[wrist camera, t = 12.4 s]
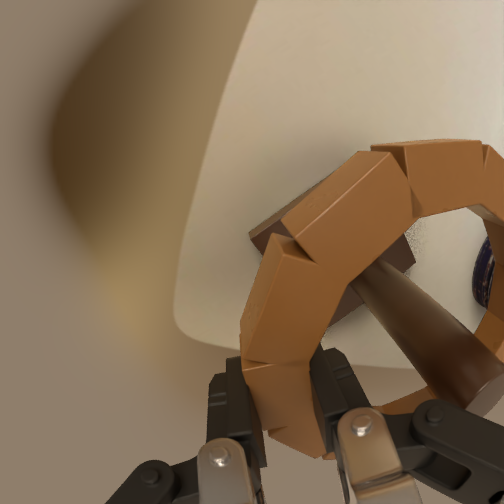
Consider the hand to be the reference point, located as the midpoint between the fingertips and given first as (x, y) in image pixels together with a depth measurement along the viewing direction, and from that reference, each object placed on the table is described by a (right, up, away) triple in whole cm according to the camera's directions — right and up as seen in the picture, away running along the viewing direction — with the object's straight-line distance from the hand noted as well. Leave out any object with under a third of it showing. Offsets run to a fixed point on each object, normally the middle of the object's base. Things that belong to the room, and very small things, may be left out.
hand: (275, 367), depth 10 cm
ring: (+6, +2, 0) cm, 6 cm away
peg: (+5, +5, +10) cm, 12 cm away
